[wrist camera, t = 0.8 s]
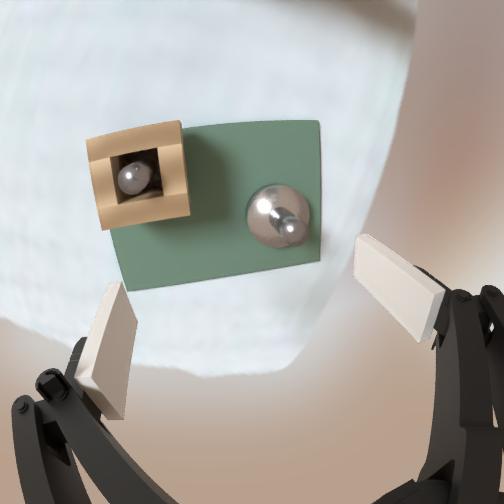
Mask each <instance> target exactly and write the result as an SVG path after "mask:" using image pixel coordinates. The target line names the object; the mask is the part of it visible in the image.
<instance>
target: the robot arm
mask: <svg viewBox="0 0 504 504" xmlns="http://www.w3.org/2000/svg"><path fill="white" fill-rule="evenodd" d="M353 277H354V278H355V279H356V280H357V281H358V282H359V283H360V284H361V285H362V286H363V287H364V288H365V289H366V290H368V291H369V293H370V294H371V295H372V296H373V297H375V299H376V300H377V301H378V302H379V303H380V304H381V305H382V306H383V307H384V308H386V310H387V311H388V312H389V313H390V314H391V315H392V316H393V317H394V318H395V319H396V320H397V321H398V322H399V323H400V324H401V325H402V326H403V327H404V328H405V329H406V330H407V331H408V332H409V333H410V335H411V336H412V337H413V338H414V339H415V340H416V341H417V342H418V343H421V342H423V341H425V340H427V339H429V338H430V336H431V334H432V331H433V328H434V329H435V330H436V331H437V335H436V338H435V340H434V343H433V345H432V350H433V349H434V347H435V346H436V382H435V399H434V411H433V421H432V429H431V436H430V443H429V449H428V454H427V459H426V462H425V464H424V466H423V468H422V469H421V471H420V474H419V477H418V480H417V482H414V480H413V479H411V480H410V481H408V482H406V483H405V484H403V485H401V486H399V487H397V488H396V489H394V490H392V491H390V492H388V493H386V494H385V495H383V496H382V497H381V498H379V499H378V500H376V501H375V502H373V503H372V504H504V492H499V487H500V478H501V466H502V448H503V452H504V295H503V294H502V292H501V291H500V290H499V289H498V288H496V287H495V286H492V285H485V286H483V287H482V290H481V293H480V295H475V296H472V295H471V294H470V293H469V292H467V291H465V290H461V289H456V290H453V291H452V290H450V289H449V288H448V287H446V286H445V285H444V284H443V283H441V282H440V281H439V280H437V279H435V278H434V277H433V276H432V275H431V274H430V275H429V273H428V272H427V271H425V270H424V269H422V268H419V267H417V266H415V265H412V264H410V263H409V262H407V261H406V260H405V259H403V258H402V257H400V256H399V255H398V254H396V253H395V252H393V251H392V250H390V249H389V248H387V247H386V246H384V245H383V244H382V243H380V242H379V241H377V240H376V239H374V238H372V237H371V236H370V235H368V234H367V233H365V234H360V235H356V240H355V259H354V272H353ZM492 323H493V325H494V329H493V331H492V332H491V330H490V326H491V324H492ZM137 324H138V321H137V319H136V317H135V314H134V312H133V309H132V307H131V304H130V302H129V299H128V297H127V294H126V291H125V289H124V286H123V283H122V281H120V282H115V283H110V284H109V285H108V287H107V290H106V292H105V294H104V297H103V299H102V301H101V304H100V306H99V309H98V311H97V314H96V316H95V319H94V321H93V324H92V326H91V329H90V332H89V334H88V337H82V338H81V339H80V340H79V341H78V342H77V343H76V345H75V347H74V349H73V352H72V355H71V357H70V362H69V363H68V366H67V369H66V372H65V375H64V376H63V374H62V373H61V372H60V371H59V370H58V369H55V368H52V369H48V370H46V371H44V372H43V373H41V374H40V375H39V377H38V378H37V380H36V384H35V386H36V390H37V391H38V392H39V393H40V394H41V396H42V397H43V398H44V400H41V401H38V402H35V401H34V400H33V399H32V398H31V397H30V396H28V395H23V396H20V397H19V398H17V399H16V400H15V402H14V403H13V405H12V411H11V412H12V429H13V440H14V448H15V456H16V462H17V468H18V474H19V478H20V483H21V488H22V492H23V496H24V500H25V503H26V504H92V503H91V501H90V499H89V496H88V494H87V492H86V489H85V487H84V484H83V482H82V479H81V477H80V474H79V471H78V468H77V465H76V462H75V459H74V456H73V453H72V450H73V452H74V453H75V455H76V457H77V458H78V460H79V461H80V463H81V464H82V466H83V468H84V469H85V471H86V472H87V474H88V475H89V477H90V478H91V479H92V481H93V482H94V483H95V485H96V486H97V488H98V489H99V490H100V492H101V493H102V494H103V496H104V497H105V498H106V499H107V501H108V502H109V503H110V504H178V503H177V502H176V501H175V500H174V499H173V498H172V497H170V496H169V495H168V494H167V493H166V492H165V491H164V490H163V489H162V488H160V487H159V486H158V485H157V484H156V483H155V482H154V481H153V480H152V479H151V478H150V477H149V476H148V475H147V474H146V473H145V472H144V471H143V470H142V469H141V468H140V467H139V466H138V464H137V463H136V462H135V461H134V460H133V459H132V458H131V457H130V456H129V454H128V453H127V452H126V451H125V450H124V449H123V448H122V446H121V445H120V444H119V443H118V442H117V441H116V439H115V438H114V437H113V435H112V434H111V433H110V432H109V430H108V429H107V428H106V426H105V425H104V424H103V423H102V422H101V421H100V418H101V413H102V414H103V415H104V416H105V417H106V418H107V420H124V412H125V403H126V393H127V386H128V378H129V371H130V365H131V358H132V352H133V346H134V340H135V335H136V329H137ZM492 405H493V408H494V412H495V416H496V420H497V424H498V428H497V427H494V425H493V408H492ZM71 448H72V450H71Z"/></svg>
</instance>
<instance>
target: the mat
mask: <svg viewBox="0 0 504 504" xmlns="http://www.w3.org/2000/svg"><path fill="white" fill-rule="evenodd" d="M182 135H183V145H184V154H185V163H186V172H187V180H188V188H189V195H190V215H189V216H183V217H177V218H170V219H164V220H158V221H152V222H146V223H141V224H135V225H129V226H124V227H119V228H113V229H110V232H111V236H112V240H113V244H114V248H115V252H116V255H117V259H118V263H119V266H120V270H121V273H122V276H123V280H124V283H125V286H126V289H127V292H128V291H135V290H142V289H149V288H156V287H163V286H169V285H176V284H183V283H189V282H196V281H202V280H208V279H215V278H221V277H227V276H233V275H239V274H245V273H251V272H257V271H263V270H269V269H275V268H281V267H287V266H292V265H298V264H304V263H309V262H315V261H319V255H320V146H319V123H318V120H280V121H255V122H239V123H227V124H216V125H207V126H199V127H191V128H184V129H182ZM273 183H280V184H285V185H287V186H290V187H292V188H293V189H295V190H297V191H298V192H300V193H301V194H302V195H303V196H304V198H305V199H306V201H307V203H308V206H309V212H310V217H309V223H308V227H309V231H310V234H309V238H308V240H307V241H306V242H305V243H304V244H303V245H301V246H298V247H294V246H290V245H288V246H285V247H281V248H272V247H267V246H265V245H263V244H261V243H259V242H258V241H257V240H256V239H255V238H254V237H253V235H252V233H251V232H250V230H249V229H248V227H247V224H246V221H245V209H246V205H247V203H248V201H249V199H250V197H251V196H252V195H253V194H254V193H255V192H256V191H257V190H258V189H260V188H261V187H263V186H265V185H268V184H273Z"/></svg>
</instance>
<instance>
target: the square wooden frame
mask: <svg viewBox="0 0 504 504" xmlns="http://www.w3.org/2000/svg"><path fill="white" fill-rule="evenodd" d="M86 145H87V153H88V160H89V167H90V173H91V179H92V185H93V190H94V195H95V201H96V205H97V210H98V215H99V219H100V223H101V228H102V231H103V230H108V229H113V228H119V227H124V226H129V225H135V224H141V223H146V222H152V221H158V220H164V219H170V218H177V217H183V216H189V215H190V195H189V188H188V180H187V172H186V163H185V154H184V145H183V135H182V125H181V122H180V121H179V120H176V121H170V122H164V123H158V124H152V125H147V126H142V127H137V128H132V129H127V130H123V131H119V132H114V133H110V134H106V135H102V136H98V137H95V138H91V139H87V140H86ZM152 148H158V157H159V165H160V172H161V180H162V186H163V187H157V188H152V189H146V190H142V191H141V192H139V193H138V194H134V195H130V194H126V193H124V192H123V191H122V190H121V189H120V187H119V185H118V175H119V173H120V171H121V170H122V169H123V168H124V167H126V162H125V154H126V153H131V152H136V151H141V150H146V149H152Z"/></svg>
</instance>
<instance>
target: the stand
mask: <svg viewBox="0 0 504 504" xmlns="http://www.w3.org/2000/svg"><path fill="white" fill-rule="evenodd" d="M125 162H126V167H124V168H123V169H122V170H121V171H120V173H119V175H118V185H119V187H120V189H121V190H122V191H123V192H124V193H126V194H130V195H134V194H138V193H139V192H141V191H142V190H146V189H152V188H157V187H163V186H162V180H161V172H160V165H159V157H158V148H152V149H146V150H141V151H136V152H131V153H126V154H125Z"/></svg>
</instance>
